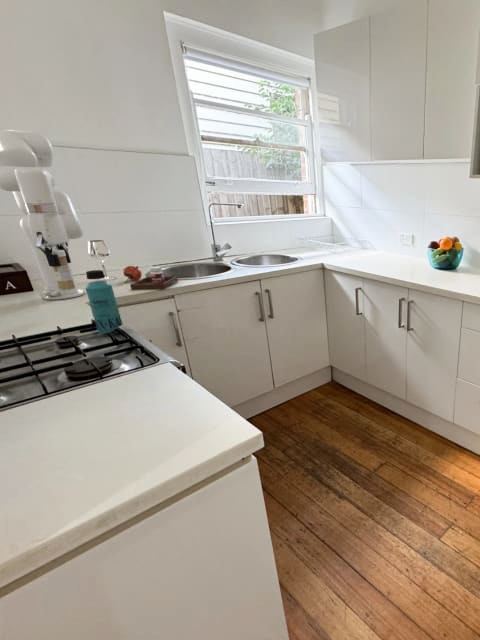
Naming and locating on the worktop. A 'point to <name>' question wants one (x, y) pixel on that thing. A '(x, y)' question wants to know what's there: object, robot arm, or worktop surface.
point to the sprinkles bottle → (63, 272)
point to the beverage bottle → (102, 303)
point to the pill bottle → (157, 275)
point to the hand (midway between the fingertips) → (60, 264)
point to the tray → (148, 284)
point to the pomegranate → (132, 273)
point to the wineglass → (99, 254)
